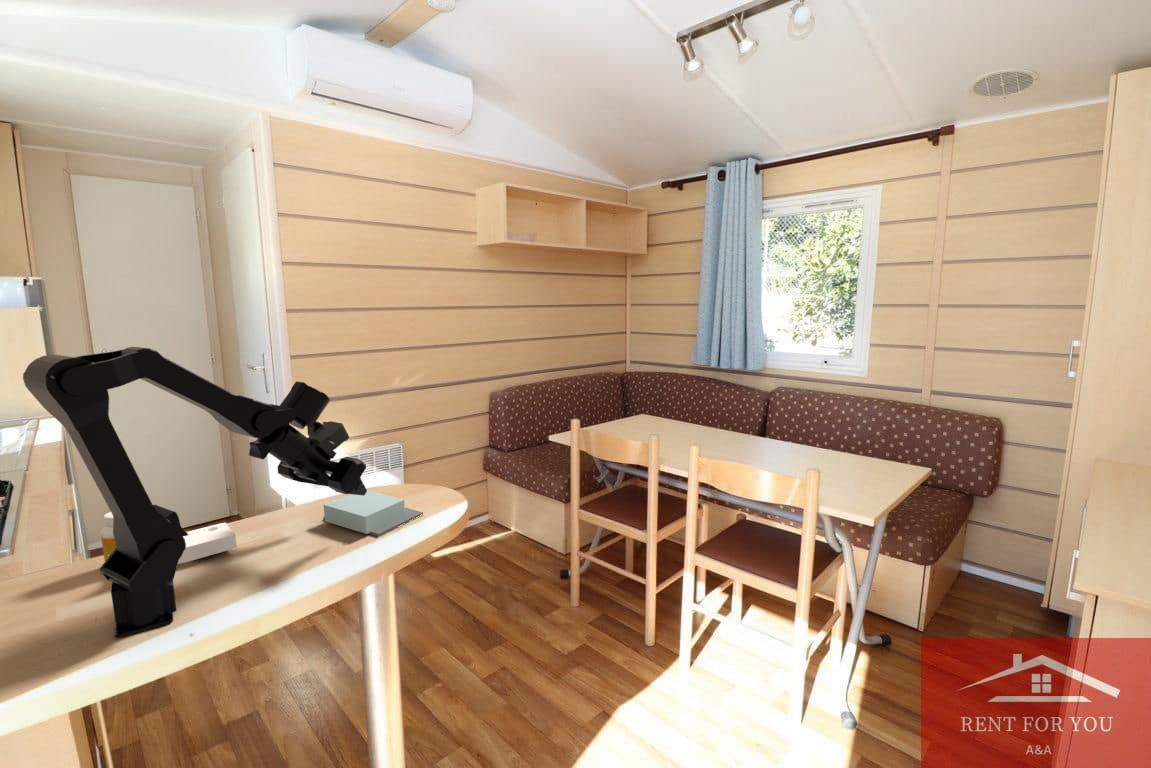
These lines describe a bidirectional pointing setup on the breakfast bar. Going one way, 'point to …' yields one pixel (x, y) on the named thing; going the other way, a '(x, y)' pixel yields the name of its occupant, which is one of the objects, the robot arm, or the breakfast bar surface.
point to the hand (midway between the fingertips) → (348, 488)
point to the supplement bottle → (108, 536)
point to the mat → (396, 522)
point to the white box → (208, 542)
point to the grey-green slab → (364, 511)
